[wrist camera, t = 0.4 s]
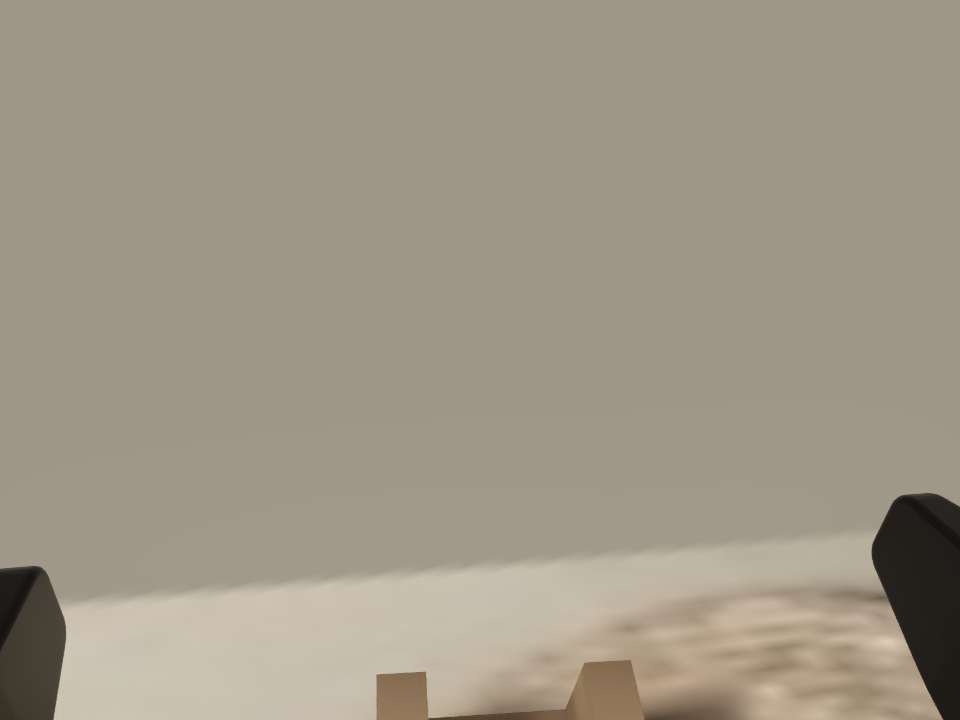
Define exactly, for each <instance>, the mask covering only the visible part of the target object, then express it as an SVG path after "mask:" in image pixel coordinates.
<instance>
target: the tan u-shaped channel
mask: <svg viewBox="0 0 960 720" xmlns="http://www.w3.org/2000/svg"><path fill="white" fill-rule="evenodd" d="M377 720H644V715H643V711H642V707H641V702H640V698H639V694H638V690H637V685H636V681H635V677H634V672H633V668H632V664H631V660H624V661H607V662H589V663H584V665H583V668H582V670H581V673H580V675H579V678H578V680H577V682H576V685H575V687H574V690H573V692H572V695H571V697H570V700H569V702H568V704H567V707H566V709H565V710H551V711H536V712H520V713H505V714H489V715H474V716H458V717H443V718H428V706H427V685H426V672H414V673H396V674H379V675H377Z"/></svg>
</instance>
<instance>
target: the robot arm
mask: <svg viewBox="0 0 960 720" xmlns="http://www.w3.org/2000/svg"><path fill="white" fill-rule="evenodd" d="M872 560H873V564H874V567H875V570H876V572H877V574H878V577H879V579H880V581H881V584H882V586H883V588H884V591H885V593H886V595H887V598H888V600H889V602H890V605H891V607H892V609H893V612H894V614H895V616H896V619H897V621H898V623H899V626H900V628H901V630H902V633H903V635H904V637H905V640H906V642H907V644H908V647H909V649H910V651H911V654H912V656H913V659H914V661H915V663H916V666H917V668H918V670H919V672H920V674H921V677H922V679H923V681H924V683H925V685H926V688H927V690H928V692H929V694H930V696H931V697H932V699H933V701H934V703H935V705H936V707H937V709H938V711H939V713H940V715H941V717H942V718H943V720H960V507H959V506H958V505H956V504H954V503H952V502H951V501H949V500H947V499H945V498H944V497H942V496H940V495H937V494H932V493H922V494H910V495H902V496H899V497H898V498H897V499H896V500H894V502H893V503H892V505H891V507H890V509H889V511H888V513H887V515H886V517H885V519H884V521H883V523H882V525H881V527H880V529H879V531H878V533H877V535H876V537H875V539H874V541H873V544H872ZM65 643H66V625H65V620H64V617H63V614H62V611H61V609H60V606H59V603H58V601H57V598H56V596H55V593H54V590H53V587H52V585H51V582H50V580H49V577H48V575H47V573H46V571H45V570H43V568H41V567H38V566H28V567H16V568H3V569H0V720H53V719H54V712H55V706H56V700H57V694H58V687H59V681H60V675H61V669H62V663H63V656H64V650H65Z"/></svg>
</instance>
